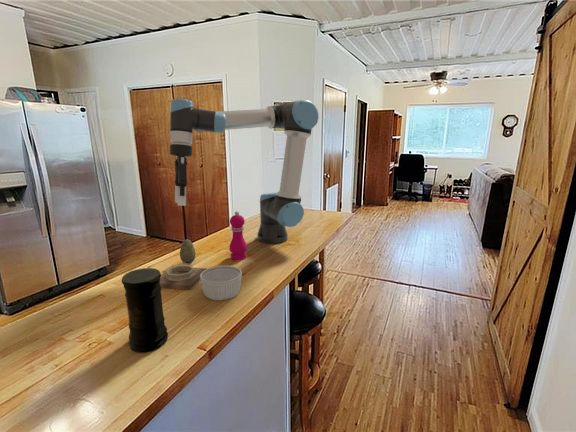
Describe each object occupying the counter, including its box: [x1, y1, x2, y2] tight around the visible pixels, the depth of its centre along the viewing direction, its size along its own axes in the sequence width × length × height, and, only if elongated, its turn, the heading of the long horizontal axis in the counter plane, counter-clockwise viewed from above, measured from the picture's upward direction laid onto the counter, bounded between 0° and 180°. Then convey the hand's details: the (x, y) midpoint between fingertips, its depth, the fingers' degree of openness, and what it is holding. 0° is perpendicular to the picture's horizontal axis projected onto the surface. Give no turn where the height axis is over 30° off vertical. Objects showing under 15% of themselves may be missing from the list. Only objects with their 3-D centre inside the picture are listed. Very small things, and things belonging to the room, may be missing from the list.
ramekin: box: [199, 265, 243, 301], centre depth 102 cm, size 13×13×7 cm
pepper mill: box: [229, 211, 248, 261], centre depth 130 cm, size 7×7×20 cm
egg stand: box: [160, 264, 207, 291], centre depth 112 cm, size 14×14×4 cm
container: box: [121, 267, 169, 353], centre depth 76 cm, size 9×9×18 cm
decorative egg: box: [179, 238, 197, 265], centre depth 125 cm, size 6×6×10 cm
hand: (180, 204), depth 114 cm, fingers open, 13 cm apart
